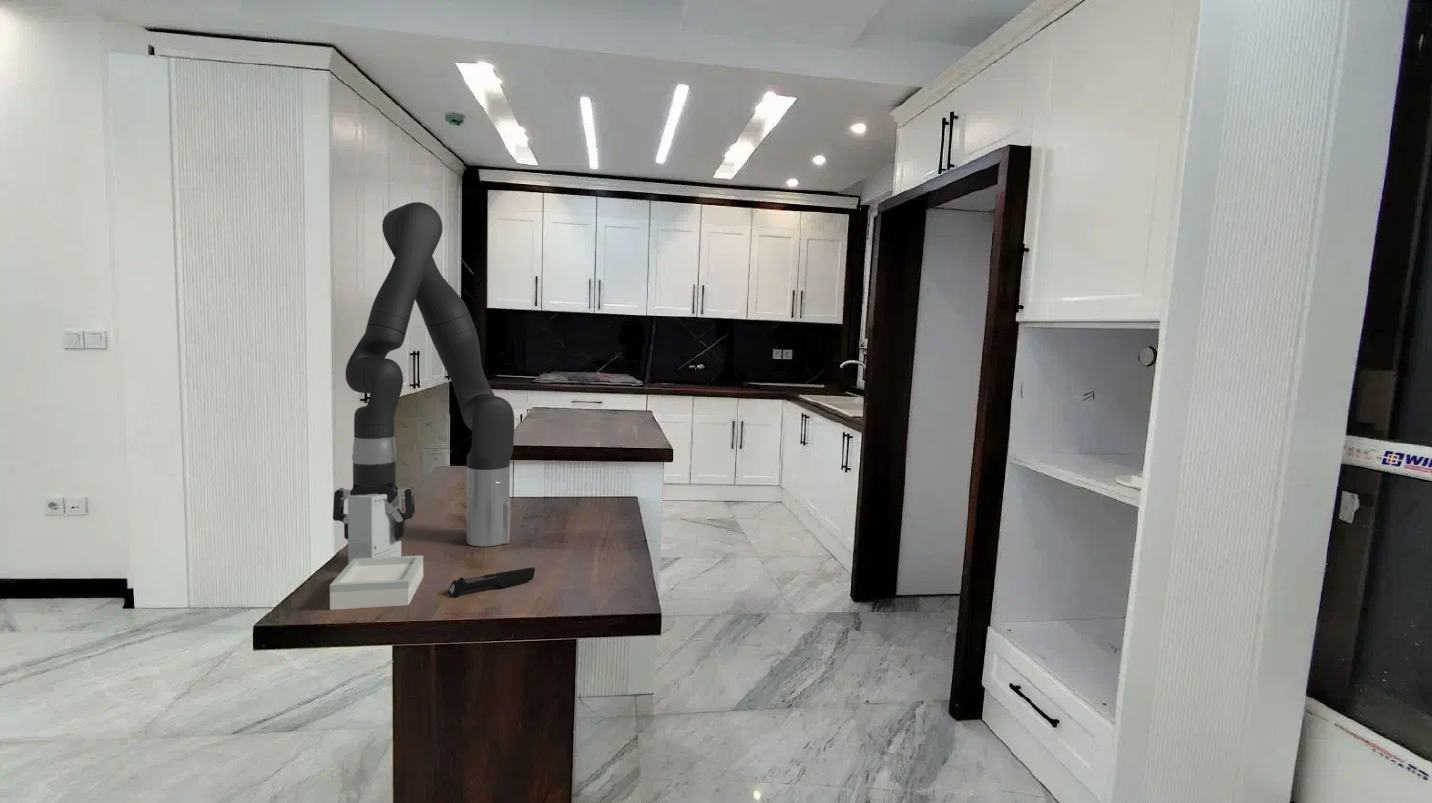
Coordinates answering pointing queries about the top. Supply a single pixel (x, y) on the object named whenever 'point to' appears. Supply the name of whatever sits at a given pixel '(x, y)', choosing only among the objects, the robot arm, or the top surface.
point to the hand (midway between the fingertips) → (374, 540)
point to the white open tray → (377, 582)
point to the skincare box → (371, 527)
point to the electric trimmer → (490, 581)
